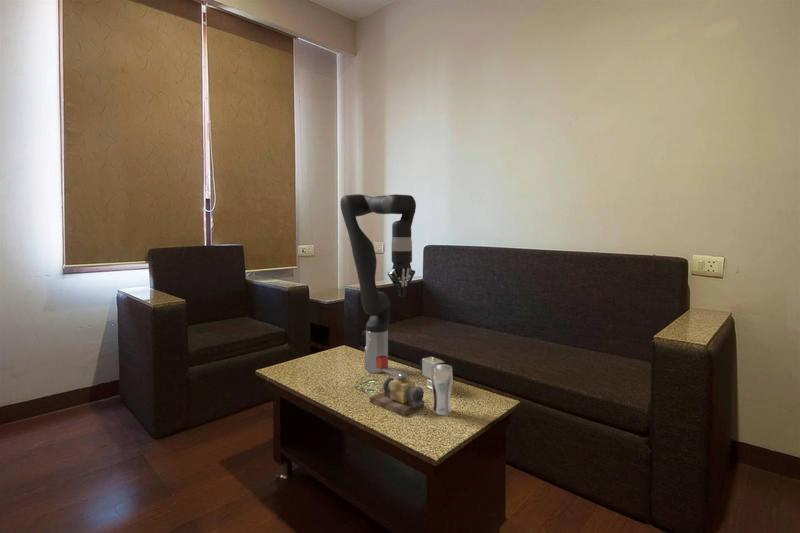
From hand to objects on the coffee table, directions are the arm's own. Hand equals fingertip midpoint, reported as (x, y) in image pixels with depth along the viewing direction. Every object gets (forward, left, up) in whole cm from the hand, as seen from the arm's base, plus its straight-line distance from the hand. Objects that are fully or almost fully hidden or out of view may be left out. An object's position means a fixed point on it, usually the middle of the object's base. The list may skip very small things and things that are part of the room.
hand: (401, 296), depth 158 cm
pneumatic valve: (+9, +8, -35) cm, 37 cm away
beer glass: (+24, -6, -35) cm, 43 cm away
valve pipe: (+10, -13, -35) cm, 38 cm away
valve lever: (+5, -11, -25) cm, 28 cm away
